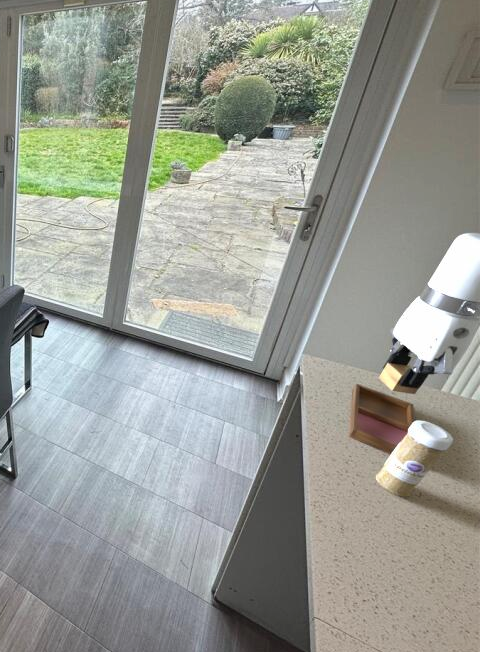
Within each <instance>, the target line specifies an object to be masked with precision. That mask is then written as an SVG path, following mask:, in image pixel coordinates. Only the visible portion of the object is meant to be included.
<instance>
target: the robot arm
mask: <svg viewBox="0 0 480 652" xmlns="http://www.w3.org/2000/svg"><path fill="white" fill-rule="evenodd" d="M479 317H480V233H479V232H466V233H462V234H460V235H458V236H457V237H456V238H455V239H454V240H453V242H452V243H451V245H450V247H449V248H448V249H447V251H446V254H444V256H443V258H442V260H441V261H440V263H439V265H438V266H437V268H436V270H435V271H434V273H433V275H432V276H431V278H430V280H429V281H428V282H427V284H426V286H425V288H423V291H422V292H421V294H420V295H418V296H417V297H416V298H415V299H414V301H413V302H411V304H410V305H409V306H408V307H407V308H406V309H405V311H404V312H403V314H402V315H401V316H400V318H399V319H398V321H397V322H396V324H395V326H394V327H392V328H390V330H389V333H390V335H391V338H392V340H391V342H392V347H391V348H390V353H391V354H390V355H389V357H388V359H387V360H386V362H385V363H384V365H383V367H382V370H384V368H385V366H386V365H387V363H392V364H399V365H406V366H407V365H408V366H409V364H410V362H411V360H412V356H411V355H412V353H413V354H414V355H416V358H415V361H414V363H413V366H412V369H408V370H407V371H406V373H405V374H404V376H403V378H402V379H401V381H400V382H399V384H400V385H401V386H403V387H410V388H419V389H420V388H421V387H422V385H423V384H424V383H425V381H426V379H427V378H428V377H429V375H431V376H434V375H436V374H440V375H442V374H443V375H450V376H451V375H452V374H453V370H454V369H453V367H454V366H456V365H457V364H459V363H460V362H461V360H462V358H463V357H464V355H465V354H466V352H467V351H468V349H469V348H470V346H471V343H472V342H473V339H474V337H475V335H476V333H477V331H478V328H479V324H480V319H479ZM425 363H428V364H427V365H425Z"/></svg>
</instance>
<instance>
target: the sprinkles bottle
mask: <svg viewBox="0 0 480 652" xmlns="http://www.w3.org/2000/svg"><path fill="white" fill-rule="evenodd" d="M453 442H454V438H453V436H452V435H451V434H450V433H449V432H448V431H447V430H445V429H444V428H442V427H440V426H439V425H436V424H434V423H432V422H429V421H427V420H415V422H413V424H412V425H411V426H410V427H409V429H408V433H407V434H406V436H405V437H404V439H403V440H402V441H401V442H400V443H399V444H398V446H397V447H396V448H395V450H394V451H393V453H392V454H389V457H388V458H387V459H386V460H385V462H384V465H383V467H382V468H381V469H380V470H379V472H377V474H375V480H376V481H377V483H378V484H379V485H380V486H381V487H382V488H383V489H385V490H386V491H387V492H388V493H389V492H390V493H391V494H392V495H395V496H398V497H403V498H406V497H409V496H411V495H412V493H413V491H414V489H415V488H416V487H417V486H418V484H420V483H421V481H423V479H424V478H425V476H426V475H427V474H428V473H429V471H430V470H431V469H432V468H433V466H434V465H435V463H437V460H438V459H439V457H440V456H441V454H443V452H445V451H447V450H448V449H449V448H450V446H451V445H452V444H453Z"/></svg>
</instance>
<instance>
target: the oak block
mask: <svg viewBox="0 0 480 652" xmlns="http://www.w3.org/2000/svg"><path fill="white" fill-rule="evenodd" d="M412 368H413V366H411V365H409V364H408V365H407V366H406V365H399V364H392V363H387V365H386V366H385V368H384V369H382V371H381V373H380V374H379V376H378V379H379V380H380V381H381V382H382V383H383V384H384V385H385V386H386V387H387V388H388V389H390V390H391V391H392V392H397V393H405V394H412V395H416V393H417V392H418V390H419V389H420V388H410V387H403V386H401V385H400V384H399V382H400V381H401V379H402V378H403V376H404V374H405V373H406V371H407V370H408V369H412Z"/></svg>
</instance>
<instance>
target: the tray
mask: <svg viewBox="0 0 480 652" xmlns="http://www.w3.org/2000/svg"><path fill="white" fill-rule="evenodd" d="M352 390H353V391H351V393H352V394H351V406H350V419H349V430H348V431H349V433H348V437H349V438H350V439H354V440H356V441H359V442H361V443H362V444H365V445H367V446H370V447H372V448H374V449H377V450H379V451H382V452H384V453H387V454H389V455H391V454H392V453H393V451H394V450H395V448H396V447H397V446H398V444H399V443H400V442H401V441H402V440H403V439H404V437H405V436H406V434H407V433H408V429H409V427H410V426H411V425H412V424H413V422H415V421H416V418H415V417H416V415H415V408H414V404H413V403H411V402H408V401H406V400H402V399H401V398H398V397H394V396H392V395H389V394H386V393H384V392H381V391H378V390H375V389H373V388H370V387H367V386H364V385H361V384H359V383H356V384H355V385H354V387H353V388H352Z"/></svg>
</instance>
